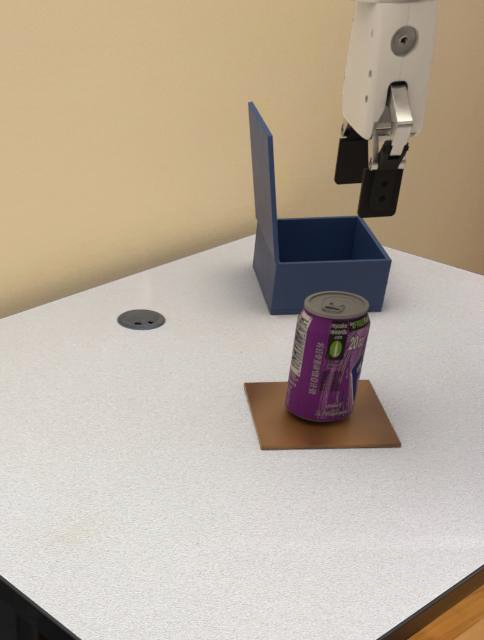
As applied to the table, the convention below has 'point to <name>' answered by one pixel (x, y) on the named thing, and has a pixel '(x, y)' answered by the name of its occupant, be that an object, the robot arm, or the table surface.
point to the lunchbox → (321, 262)
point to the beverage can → (327, 356)
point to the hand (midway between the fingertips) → (362, 198)
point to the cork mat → (297, 433)
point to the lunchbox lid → (264, 179)
